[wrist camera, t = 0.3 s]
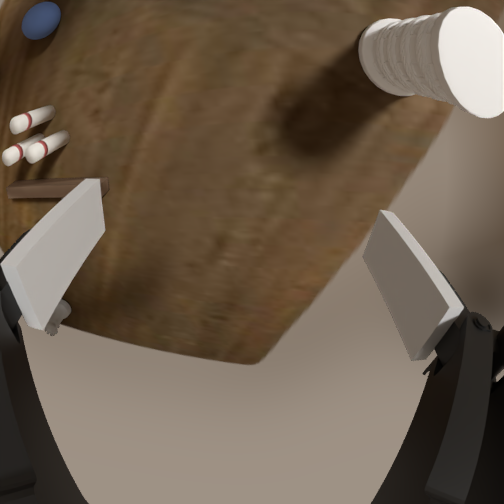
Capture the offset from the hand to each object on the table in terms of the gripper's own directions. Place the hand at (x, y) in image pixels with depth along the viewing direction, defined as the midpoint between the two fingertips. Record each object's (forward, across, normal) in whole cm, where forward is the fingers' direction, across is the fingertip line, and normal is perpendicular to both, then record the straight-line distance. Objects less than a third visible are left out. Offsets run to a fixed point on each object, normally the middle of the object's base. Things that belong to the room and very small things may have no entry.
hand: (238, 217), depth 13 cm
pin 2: (+28, -27, -3) cm, 39 cm away
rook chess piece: (+28, -35, -39) cm, 59 cm away
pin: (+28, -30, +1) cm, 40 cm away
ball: (+25, -30, +16) cm, 42 cm away
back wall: (+27, -29, -11) cm, 41 cm away
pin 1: (+28, -32, -3) cm, 42 cm away
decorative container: (+28, +19, +14) cm, 36 cm away
